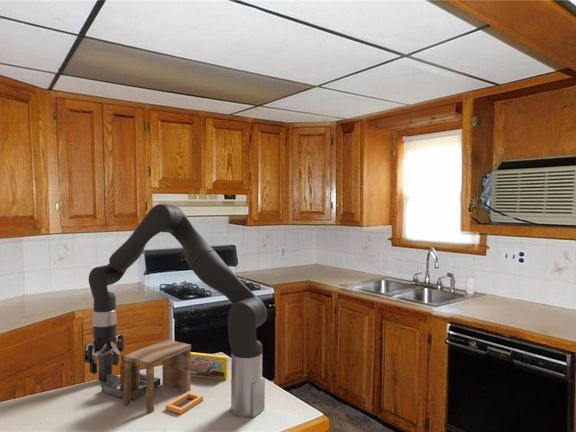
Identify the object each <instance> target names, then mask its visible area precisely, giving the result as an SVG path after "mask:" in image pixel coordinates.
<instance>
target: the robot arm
mask: <svg viewBox="0 0 576 432" xmlns="http://www.w3.org/2000/svg"><path fill="white" fill-rule="evenodd" d="M159 233H169V234H171V235H172V237H173V238H175V239H176V240H177V242H178V243H179V244H180V246H181V247H182V248H183V251H184V255H185V259H186V262H187V265H188V266H189V268H190V269H191V271H193V273H194V274H195V276H197V278H198V279H199V280H200V281H201V282H202V283H204V284H205V285H206V286H208V287H209V288H212V289H213V290H214V291H217V292H218V293H220V294H222V295H223V296H224V297H225V298H227V300H228V301H230V303H231V304H232V305H231V307H230V309H229V310H228V311H229V312H228V315H227V325H228V328H227V329H228V332H227V333H228V343H229V346H230V348H231V351H230V352H231V360H230V361H231V368H230V369H231V371H230V374H231V375H230V376H231V377H230V378H231V379H230V381H231V383H230V385H231V386H230V387H231V388H230V390H231V391H230V397H231V398H230V400H231V401H230V411H231V413H232V414H233V415H235V416H237V417H241V418H242V417H244V418H246V417H247V418H248V417H249V418H255V417H257V415H259V413H261V412H263V410H265V409H266V408H265V402H266V401H265V398H266V397H265V396H266V395H265V394H266V393H265V391H266V390H265V389H266V385H265V384H266V378H265V377H263V344H262V342H261V341H260V340H258V339H257V328H259V327H260V326H263V324H264V323H265V322H266V320H267V318H268V311H267V307H266V305H265V303H264V302H263V301H262V300H261V298H260V297H258V296H257V295H256V294H255V293H254V292H253V291H252V290H250V288H248V287H247V286H246V285H245V283H244V282H243V281H241V280H240V279H239V277H238V276H237V275H236V274H235V272H234V271H233V270H232V269H231V268H230V267H229V266H228V265H227V264H226V263H225V261H224V260H223V259H222V257H220V255H219V254H218V252H216V250H215V249H214V248H213V247H211V245H210V244H209V243H208V242H207V241H206V239H205V238H203V236H202V235H201V234H200V233H199V231H197V229H196V228H195V227H194V224H192V223H191V221H190V219H189V218H188V217H187V215H186V214H185V212H184V211H183V210H182V209H181V208H180V207H178V206H176V205H173V204H172V205H171V204H166V203H158V204H156V205H154V206H152V207H151V209H149V211H148V212H147V213H146V215H145V216H144V217H143V218H142V221H141V222H140V223H139V224H138V226H137V227H136V228H135V229H134V231H133V232H132V233H131V235H130V236H129V237H128V238H127V240H125V242H124V243H122V245H120V246H119V247H118V249H116V250H115V251H114V252H113V253H112V254H111V255H110V257H109V260H108V262H109V263H108V264H106V265H99V266H96V267H93V268H92V269H91V270H90V272H89V276H88V285H89V289H90V291H91V295H92V298H93V315H92V337H93V342H92V343H90V344H89V343H85V344H84V353H83V362H84V363H88V364H89V372H90V373H91V374H93V375H95V374H97V373H98V361H99V357H100V356H101V355H102V354H103V353H105V352H108V353H112V366H115V367H116V366H118V365H119V362H120V354H121V352H124V351H125V344H124V341H125V339H124V335H123V334H119V333H117V332H118V331H117V323H118V322H117V311H116V310H117V309H116V308H117V307H116V306H117V302H116V301H117V300H116V294H115V293H114V292H111V291H109V289H108V286H111V285H114V284H116V283H117V282H119V281H120V280H121V279H122V278H123V276H124V275H125V273H126V271H127V270H128V269H129V268H130V267H131V266H132V265H133V264H134V263H135V262H137V260H138V259H139V258H141V256H142V254H143V252H144V250H145V247H146V245H147V243H149V241H151V239H152V238H154V237H155V236H156V235H158V234H159Z"/></svg>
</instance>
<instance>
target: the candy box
mask: <svg viewBox="0 0 576 432" xmlns="http://www.w3.org/2000/svg"><path fill="white" fill-rule="evenodd" d="M190 377H198V378H205V377H206V378H207V379H215V380H222V381H223V380H224V381H227V380H228V379H229V356H228V355H221V354H212V353H202V352H193V351H191V360H190ZM206 378H205V379H206Z"/></svg>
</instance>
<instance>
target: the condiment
mask: <svg viewBox="0 0 576 432" xmlns="http://www.w3.org/2000/svg"><path fill="white" fill-rule="evenodd" d="M132 352H133V351H132ZM132 352H126V353H123V354H122V355H121V360H120V361H121V363H120V366H119V377H120V385H119V389H122V390H124V360H123V356H124V355H127V354H130V353H132ZM140 366H141V364H137V363H134V362H131V391H133V390H135V389H137V388H139V387H141V385H140V373H141V371H140V370H141V369H140Z"/></svg>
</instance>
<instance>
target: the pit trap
mask: <svg viewBox="0 0 576 432" xmlns="http://www.w3.org/2000/svg"><path fill="white" fill-rule="evenodd" d="M203 401H204V396H203V395H201V394H196V393H193V392H190V391H188V392H185V393H184V394H182V395H181V396H179V397H177V398H176V399H173V400H172V401H170V402H168V403H167V404H165V411H167V412H171V413H174V414H176V415H180V416H182V415H183V414H185V413H186V412H188V411H190V410H191V409H193V408H194V407H196V406H197V405H199V404H201V403H202V402H203Z"/></svg>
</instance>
